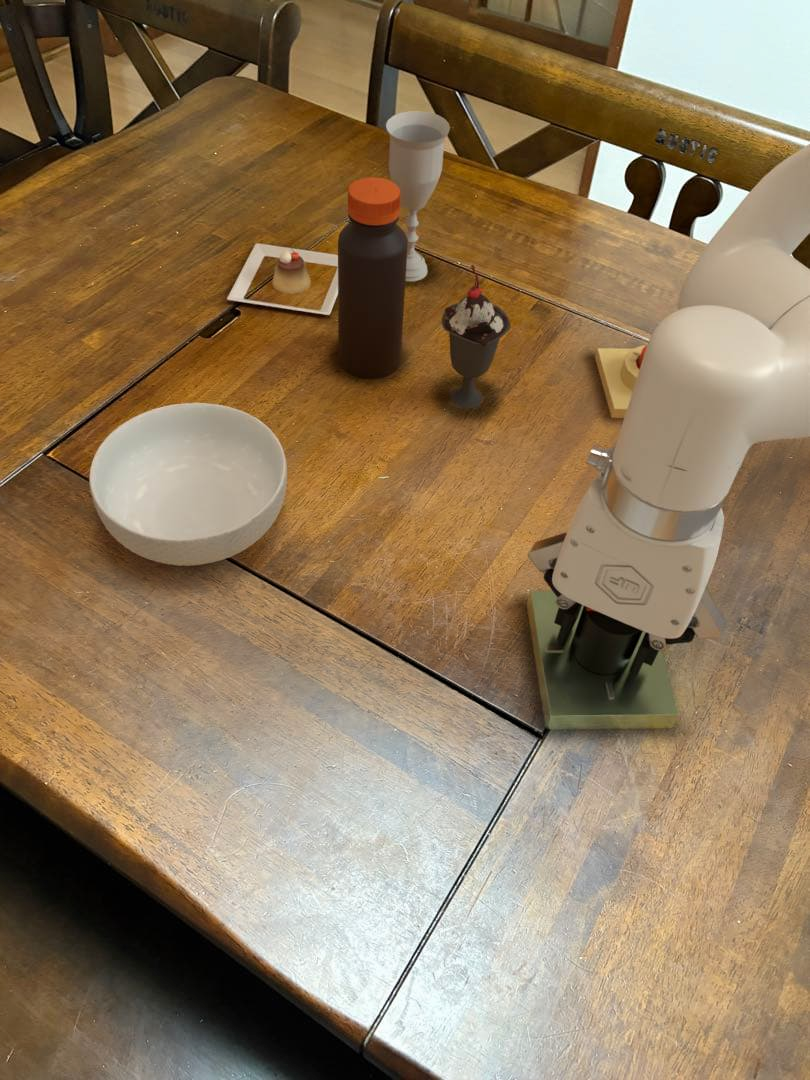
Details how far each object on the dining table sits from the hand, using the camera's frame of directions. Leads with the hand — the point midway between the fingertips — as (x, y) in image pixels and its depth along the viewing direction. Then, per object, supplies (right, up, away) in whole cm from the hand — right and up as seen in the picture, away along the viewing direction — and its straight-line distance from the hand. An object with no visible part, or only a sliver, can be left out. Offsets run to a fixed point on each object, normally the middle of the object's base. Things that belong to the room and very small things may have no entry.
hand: (602, 644), depth 73 cm
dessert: (-29, +38, +35) cm, 60 cm away
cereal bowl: (-35, +10, +11) cm, 38 cm away
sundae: (-9, +23, +24) cm, 34 cm away
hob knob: (0, -1, +1) cm, 1 cm away
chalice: (-15, +40, +38) cm, 58 cm away
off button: (+11, +26, +24) cm, 37 cm away
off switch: (+10, +25, +26) cm, 37 cm away
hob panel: (0, -2, +3) cm, 3 cm away
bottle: (-20, +28, +27) cm, 43 cm away
